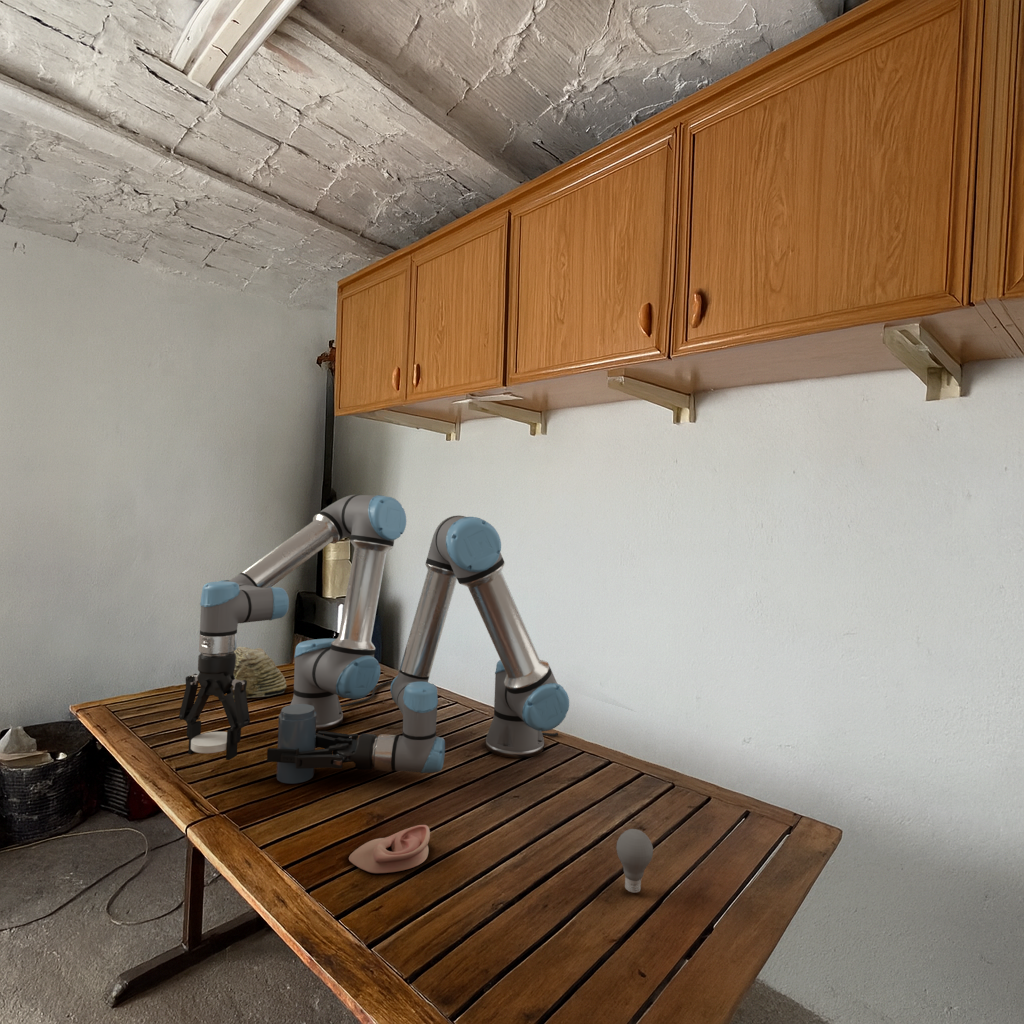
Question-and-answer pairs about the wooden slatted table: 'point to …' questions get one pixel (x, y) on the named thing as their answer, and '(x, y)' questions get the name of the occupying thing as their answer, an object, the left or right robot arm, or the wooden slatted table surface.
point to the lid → (209, 742)
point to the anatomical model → (393, 851)
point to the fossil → (258, 673)
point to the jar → (296, 740)
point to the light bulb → (634, 857)
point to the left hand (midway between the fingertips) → (212, 754)
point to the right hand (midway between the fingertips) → (275, 746)
